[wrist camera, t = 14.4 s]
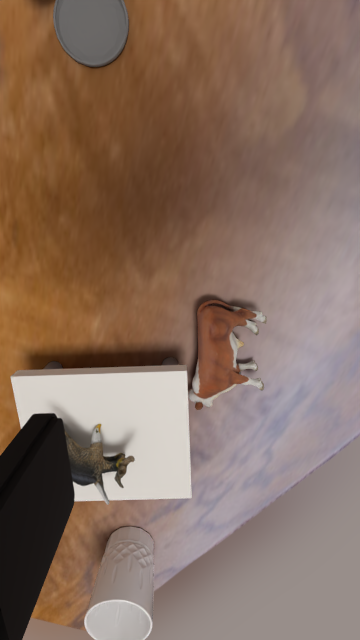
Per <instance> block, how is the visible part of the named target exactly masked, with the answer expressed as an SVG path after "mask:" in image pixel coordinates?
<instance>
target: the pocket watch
mask: <svg viewBox="0 0 360 640" xmlns="http://www.w3.org/2000/svg"><path fill="white" fill-rule="evenodd" d="M53 18H54V27H55V31H56V35H57V37H58V39H59V41H60V43H61V45H62V47H63V48H64V50H65V51H66V52H67V53H68V54H69V55H70V56H71V57H72V58H73V59H74V60H76V61H77V62H79V63H81V64H83V65H86V66H89V67H99V66H104V65H106V64H108V63H110V62H112V61H113V60H114V59H115V58H117V57H118V55H119V54H120V53H121V51H122V49H123V48H124V46H125V44H126V40H127V36H128V31H129V28H128V27H129V21H128V13H127V9H126V6H125V3H124V1H123V0H56V2H55V6H54V14H53Z"/></svg>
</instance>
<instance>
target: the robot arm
mask: <svg viewBox="0 0 360 640" xmlns="http://www.w3.org/2000/svg"><path fill="white" fill-rule="evenodd" d="M74 499H75V492H74V486H73V480H72V473H71V467H70V461H69V455H68V449H67V442H66V436H65V430H64V424H63V420H62V419H61V418H57V416H56V414H55V413H39V414H33V415H32V416H31V417H30V418H29V420H28V421H27V422H26V424H25V425H24V426H23V427H22V429H21V430H20V431H19V433H18V434H17V435H16V436H15V438H14V439H13V440H12V442H11V443H10V444H9V445H8V447H7V448H6V449H5V451H4V452H3V453H2V454H1V456H0V640H22V638H23V636H24V633H25V630H26V628H27V625H28V623H29V620H30V618H31V615H32V612H33V610H34V607H35V605H36V602H37V599H38V597H39V594H40V591H41V589H42V586H43V584H44V581H45V578H46V576H47V573H48V571H49V568H50V565H51V563H52V560H53V558H54V555H55V552H56V550H57V547H58V545H59V542H60V539H61V537H62V534H63V532H64V529H65V526H66V524H67V521H68V519H69V516H70V513H71V511H72V508H73V505H74Z"/></svg>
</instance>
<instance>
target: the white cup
mask: <svg viewBox="0 0 360 640" xmlns="http://www.w3.org/2000/svg"><path fill="white" fill-rule="evenodd" d="M153 594H154V541H153V539H152V537H151V536H150V534H149V533H147V532H146V531H144V530H143V529H141V528H137V527H131V526H129V527H123V528H119V529H118V530H116V531H115V532H113V533H112V534H111V536H110V538H109V540H108V542H107V546H106V549H105V553H104V555H103V558H102V561H101V564H100V568H99V571H98V574H97V577H96V581H95V584H94V588H93V591H92V595H91V598H90V602H89V605H88V609H87V612H86V616H85V620H84V623H85V628H86V630H87V632H88V633H89V634H90V636H91V637H93V638H94V639H95V640H145V639H146V638H147V637H148V635H149V634H150V632H151V630H152V619H153Z"/></svg>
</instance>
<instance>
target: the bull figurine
mask: <svg viewBox="0 0 360 640" xmlns="http://www.w3.org/2000/svg"><path fill="white" fill-rule="evenodd" d="M212 304H220V305H222V306H224V307H226V308H228V309H229V310H230V311H232V312H230V311H228V310H226V309H224V308H221V307H219V306H216V305H212ZM247 319H256V320H258V321H260V322H262V323H265V324H266V321H267V319H266V316H264V315H262V312H260V311H259V312H256V311H250V310H247V309H245V308H240V307H235V306H229V305H227V304H225V303H224V302H222V301H219V300H209V301H206V302H204V303H203V304H201V305H200V307H199V308H198V311H197V320H198V361H197V366H196V373H195V376H194V378H193V381H192V387H193V388H192V389H191V390H190V391H189V394H188V395H189V399H190V400H191V401H192V402H194V403H195V404H196V405H195V408H196V409H197V410H200V409H202V407H203V404H204V405H206V407H212V404H213V400H214V399H215V398H217V397H218V396H219V394H221V393H225V392H228V391H230V390H231V389H232V388H233V387H235V386H236V385H237V384H243V385H248V384H251V385H253V386H256V387H258V388H259V389H260V390H263V389H264V384H263V383H262V381H261V379H260V378H257V379H251V378H249V377H247V376H243V375H240V374H241V371H243V370H244V369H253V370H255V371H257V370H258V366H257V364H256V363H255V361H254V360H252V361H251V362H249V363H247V364H240V363H239V364H237V363H236V357H237V350H238V348H239V347H242V346H243V345H244V343H243V342H241V341H240V340H238V339H237V338H236V337H235V335H234V334H233V332H232V330H233V328H234V327H235V326H244V327H247V328H248V329H250V330H251V331H252V332H253V333H254V334H255V335H258V332H259V330H258V327H257V326H256V323H255V322H251V321H248V320H247Z"/></svg>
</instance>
